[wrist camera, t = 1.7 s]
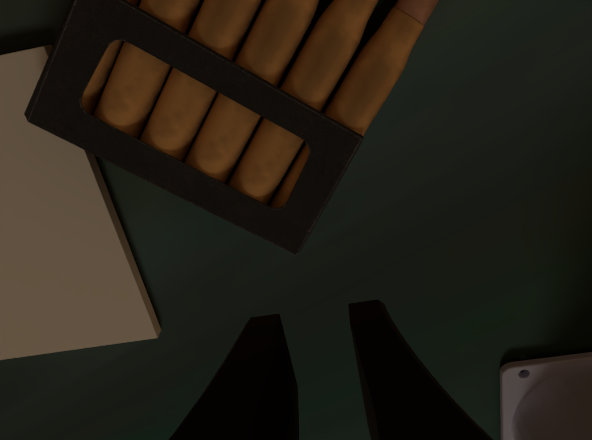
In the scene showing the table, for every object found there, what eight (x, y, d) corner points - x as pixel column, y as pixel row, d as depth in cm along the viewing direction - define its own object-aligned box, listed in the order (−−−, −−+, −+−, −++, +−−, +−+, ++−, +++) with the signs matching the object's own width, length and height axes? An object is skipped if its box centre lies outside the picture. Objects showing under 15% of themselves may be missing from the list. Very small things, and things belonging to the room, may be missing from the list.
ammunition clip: (20, 118, 17) (168, -291, 13) (45, 108, 18) (181, -255, 14) (298, 255, 19) (494, -55, 15) (296, 235, 21) (473, -48, 17)
